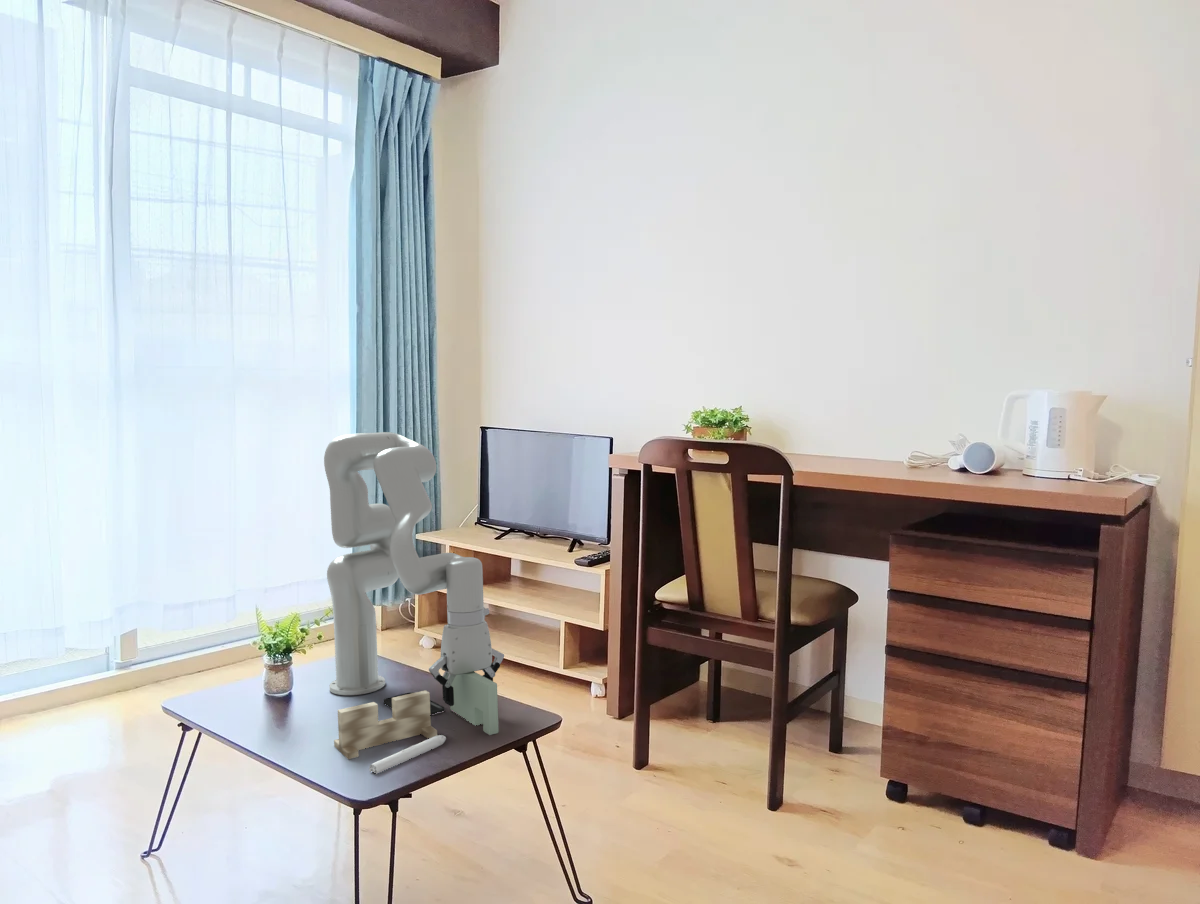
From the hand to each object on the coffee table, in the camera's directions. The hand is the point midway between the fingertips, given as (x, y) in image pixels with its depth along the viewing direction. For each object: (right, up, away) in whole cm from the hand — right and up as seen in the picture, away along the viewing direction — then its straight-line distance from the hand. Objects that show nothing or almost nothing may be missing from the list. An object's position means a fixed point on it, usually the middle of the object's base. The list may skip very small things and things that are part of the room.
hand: (468, 699), depth 182 cm
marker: (-8, -6, -19) cm, 21 cm away
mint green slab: (+1, -4, -1) cm, 5 cm away
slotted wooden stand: (-14, -5, -11) cm, 19 cm away
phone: (-13, -5, +8) cm, 16 cm away
